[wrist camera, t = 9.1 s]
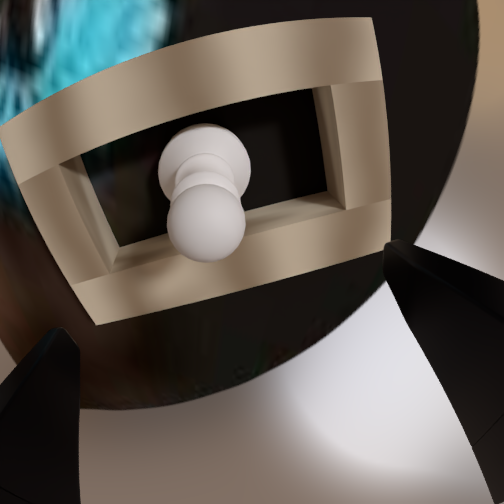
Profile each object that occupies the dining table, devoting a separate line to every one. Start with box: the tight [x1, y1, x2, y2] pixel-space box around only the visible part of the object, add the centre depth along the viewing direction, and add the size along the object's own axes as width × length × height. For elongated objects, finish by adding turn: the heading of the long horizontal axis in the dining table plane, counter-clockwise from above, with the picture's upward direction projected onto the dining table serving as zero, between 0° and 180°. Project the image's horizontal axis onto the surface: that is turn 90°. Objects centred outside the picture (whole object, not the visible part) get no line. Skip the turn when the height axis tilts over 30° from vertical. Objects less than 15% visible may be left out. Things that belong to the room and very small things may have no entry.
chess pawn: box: [158, 123, 251, 263], centre depth 14 cm, size 5×5×9 cm
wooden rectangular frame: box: [0, 18, 391, 325], centre depth 16 cm, size 20×14×3 cm
